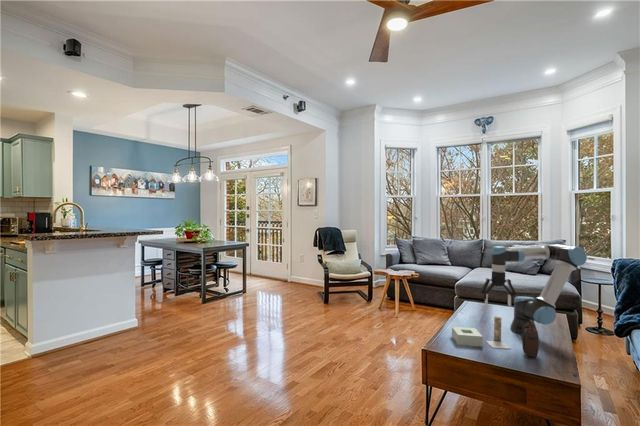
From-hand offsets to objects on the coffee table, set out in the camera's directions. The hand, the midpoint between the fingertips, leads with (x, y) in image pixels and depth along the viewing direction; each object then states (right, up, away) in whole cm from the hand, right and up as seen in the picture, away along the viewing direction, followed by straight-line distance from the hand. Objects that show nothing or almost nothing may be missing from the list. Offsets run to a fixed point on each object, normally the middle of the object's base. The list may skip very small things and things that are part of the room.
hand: (497, 305), depth 209 cm
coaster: (-4, -22, -9) cm, 24 cm away
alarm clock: (+5, -22, -23) cm, 33 cm away
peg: (0, -22, 0) cm, 22 cm away
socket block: (-21, -21, -3) cm, 30 cm away
